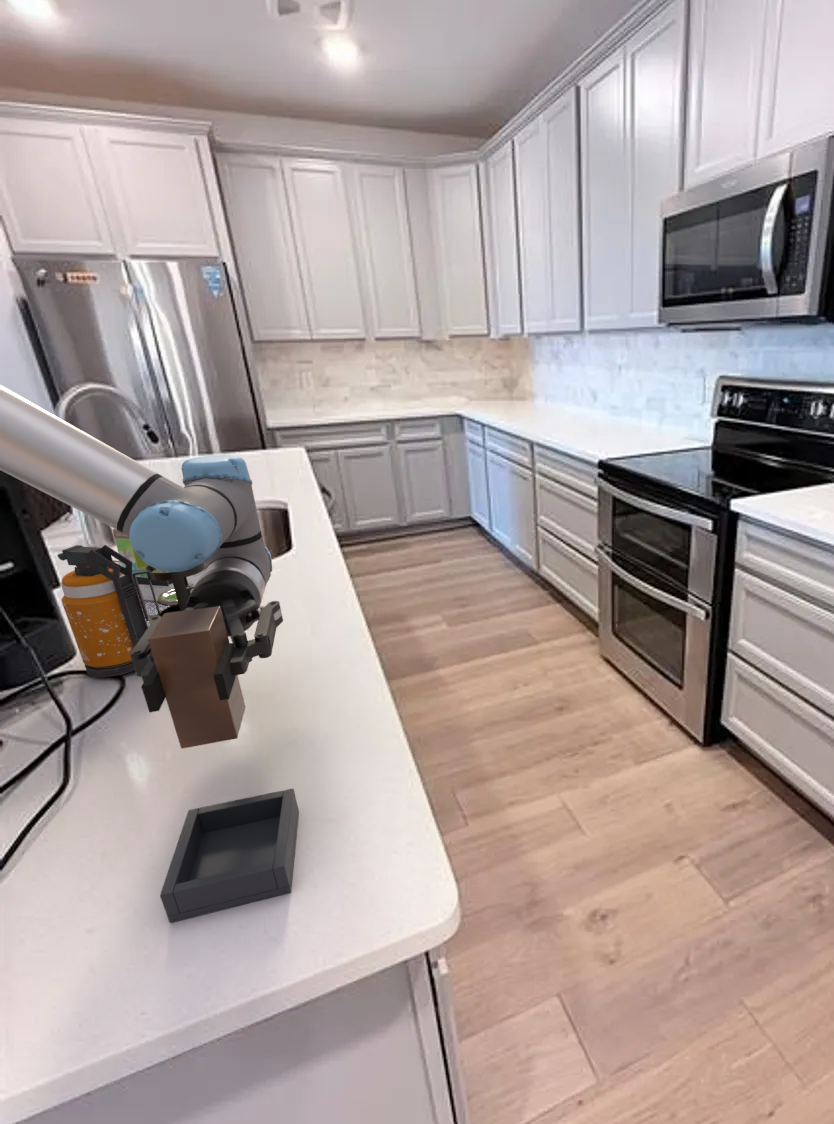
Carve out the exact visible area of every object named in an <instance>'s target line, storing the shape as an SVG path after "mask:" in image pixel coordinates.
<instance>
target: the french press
mask: <svg viewBox="0 0 834 1124" xmlns="http://www.w3.org/2000/svg"><path fill="white" fill-rule="evenodd" d="M205 568H206V565H205V561H203V562H202V563H200V564H199V565H197V566H196V567H194V568H192V569H189V570H187V571H182V572H166V573H153V572H152V571H154V570H156V569H155V568H153V567H151V566H149V565H148V566H147V567H146V568H145V569H142V570H136V571H133V573H132V576H133V580H134V583H135V585H136V588H137V589H136V590H137V593H138V596H139V599H140V603H141V606H142V610H143V613H144V616H145V620H146V622H149V618H151V617H153V616H161V617H162V616H163V615H164V613H170V612H178V611H183V610H185V609H186V606H187V601H188V598H189V596H190V594H191V592H192V591H193V589H194V587H195V586H196V585H188V581H187V578H186V577H188V576H192V575H195V574H197V573H199V572H201V571H203V570H204V569H205ZM145 573H146V575H147V578H148V581H149V585H150V588H151V591H152V595H153V598H154V601H153V602H154V604H155V608H156V611H157V614H152V615H149V613H148V610H147V607H146V604H145V600H143V597H142V594H141V590H140V587H139V584H138V581H137V577H136V575H139V574H145ZM150 579H151V580H160V581H161V580H172V582H173V586H174V588H173V589H170V590H167V591H165V592H163V593H161V594H159V595H158V596H157V597H155V593H154V590H153V587H152V583H151V580H150ZM159 605H160V606H166V608H164V609H163V610H160V607H159Z"/></svg>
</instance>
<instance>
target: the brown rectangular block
mask: <svg viewBox="0 0 834 1124" xmlns="http://www.w3.org/2000/svg"><path fill="white" fill-rule="evenodd" d="M148 642H149V645H150V648H151V652H152V655H153V658H154V661H155V665H156V668H157V671H158V674H159V677H160V681H161V684H162V687H163V691H164V694H165V697H166V698H165V701H166V704H167V706H168V711H169V713H170V716H171V720H172V723H173V726H174V729H175V733H176V736H177V740H178V742H179V746H180V749H187V748H193V747H198V746H203V745H204V746H205V745H208V744H215V743H219V742H226V741H231V740H235V739H236V740H237V739H238V738H239V733H240V729H241V725H242V722H243V718H244V714H245V710H246V703H245V698H244V694H243V690H242V687H241V684H240V679H239V675H236V678H235V681H234V684H233V688H232V691H231V694H230V697H229V699H226V700H220V699H219V695H218V691H217V687H216V684H215V680H214V676H213V674H214V672H215V669H216V667H217V664H218V662H219V659H220V656H221V654H222V651H223V649H224V646H225V644H228V643H230V639H229V637H228V635H227V631H226V627H225V623H224V619H223V615H222V611H221V607H220V606H217V607H209V608H201V609H193V610H185V611H178V612H170V613H164V615H163V616H162V618H161V619H160V621H159V622H158V624H157V626H156V627H155V629H154V630H153V632H152V633H151V635H150V636H149V638H148Z"/></svg>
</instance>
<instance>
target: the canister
mask: <svg viewBox="0 0 834 1124" xmlns="http://www.w3.org/2000/svg"><path fill="white" fill-rule="evenodd" d="M57 558H58V559H59V560H60V561H67V564H68V566H74V570H72V571H70V572H67V573H66V574H65V575H64V576H63V577H62V578H61V583H60V586H61V590H62V593H63V596H62V597H61V603H62V606H63V609H64V612H65V615H66V618H67V621H68V623H69V626H70V629H71V633H72V635H73V637H74V641H75V643H76V646H77V649H78V652H79V653H80V657H81V659H82V662H83V664H84V668H85V670H86V674H88V675H89V676H91V677H98V678H105V677H117V676H122V675H127V674H129V673H132V672H135V669H134V666H133V662H132V659H131V656H130V653H131V651H132V650H133V648H134V647H135V646H136V644H137V643H138V641H139V640H140V638H141V637H142V636H143V634H144V633H145V631H146V630H147V629H148V627H149V626H148V623H147V621H146V619H145V616H144V612H143V609H142V606H141V603H140V600H139V597H138V593H137V590H136V589H137V588H136V585H135V583H134V580H133V577H132V565H133V562H131V561H130V560H128V559H127V558H125V557H124V556H122V555H120V554H119V553H118V551H116V550H115V549H113V548H111V547H109V546H108V545H107V544H103V546H102V547H96V546H95V547H94V546H83V545H81V544H76V545H73V546H71V547H67V548H64V549H62V550H61V553H58V554H57ZM113 558H114V559H115V560H114V559H113ZM119 563H124V564H125V565H126V567H123V566H122V564H119Z"/></svg>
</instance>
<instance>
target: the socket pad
mask: <svg viewBox="0 0 834 1124" xmlns="http://www.w3.org/2000/svg"><path fill="white" fill-rule="evenodd" d="M299 815H300V810H299V807H298V802H297V798H296V793H295V789H294V788H288V789H284V790H279V791H274V792H269V793H268V792H267V793H264V794H259V795H255V796H249V797H244V798H240V799H235V800H230V801H225V802H221V803H216V804H215V803H214V804H211V805H207V806H201V807H196V808H191V809H188V811H187V813H186V816H185V820H184V823H183V826H182V829H181V832H180V835H179V838H178V841H177V843H176V846H175V850H174V852H173V854H172V855H173V856H172V858H171V862H170V864H169V868H168V871H167V874H166V876H165V880H164V882H163V886H162V889H161V891H160V893H159V897H160V900H161V903H162V905H163V909H164V911H165V914H166V916H167V920H168V923H175V922H179V921H183V920H186V919H190V918H191V919H192V918H194V917H198V916H203V915H207V914H210V913H214V912H219V911H222V910H227V909H230V908H234V907H238V906H239V907H240V906H242V905H243V906H244V905H247V904H250V903H254V902H259V901H262V900H266V899H270V898H274V897H278V896H282V895H287V894H291V892H292V887H293V886H292V885H293V876H294V866H295V857H296V846H297V837H298V836H297V835H298V827H299V817H300V816H299Z"/></svg>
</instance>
